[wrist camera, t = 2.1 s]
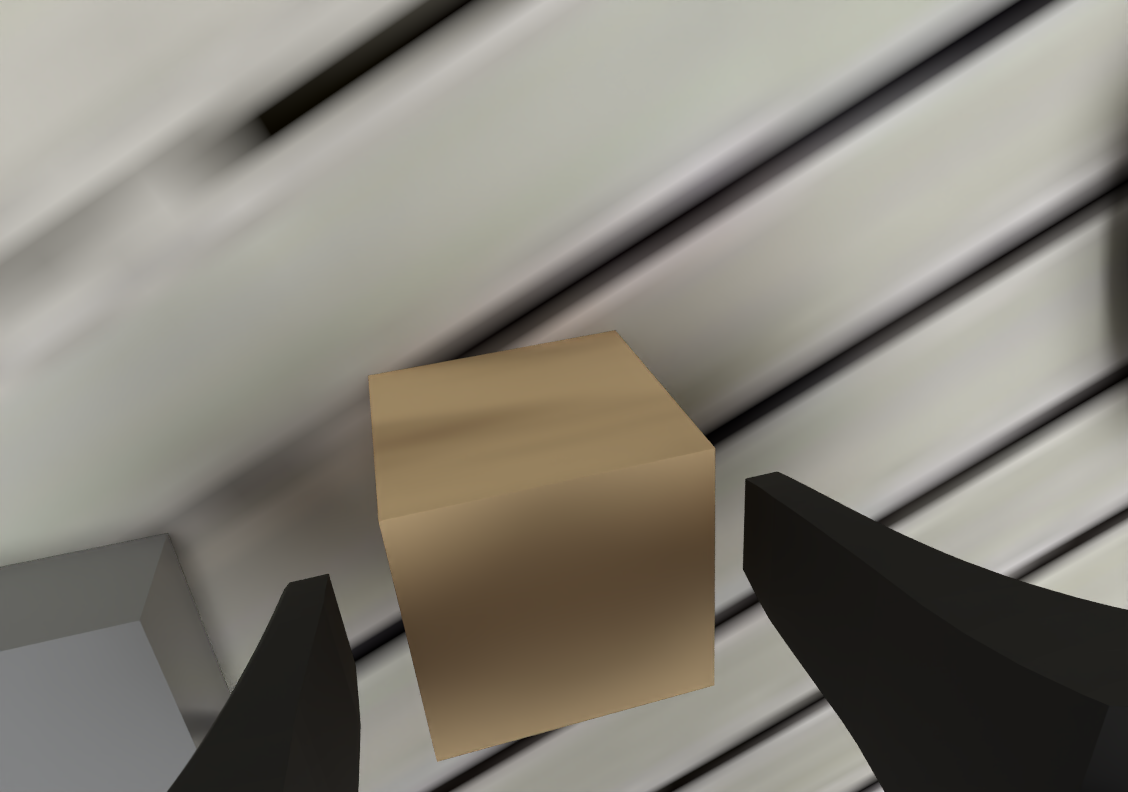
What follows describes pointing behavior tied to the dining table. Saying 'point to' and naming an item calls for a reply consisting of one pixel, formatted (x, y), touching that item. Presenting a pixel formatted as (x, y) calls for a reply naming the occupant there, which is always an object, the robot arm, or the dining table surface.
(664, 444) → the oak cube
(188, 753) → the slate block
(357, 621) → the dining table surface
